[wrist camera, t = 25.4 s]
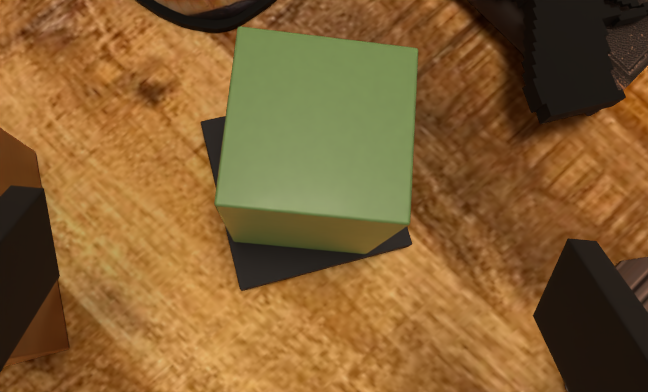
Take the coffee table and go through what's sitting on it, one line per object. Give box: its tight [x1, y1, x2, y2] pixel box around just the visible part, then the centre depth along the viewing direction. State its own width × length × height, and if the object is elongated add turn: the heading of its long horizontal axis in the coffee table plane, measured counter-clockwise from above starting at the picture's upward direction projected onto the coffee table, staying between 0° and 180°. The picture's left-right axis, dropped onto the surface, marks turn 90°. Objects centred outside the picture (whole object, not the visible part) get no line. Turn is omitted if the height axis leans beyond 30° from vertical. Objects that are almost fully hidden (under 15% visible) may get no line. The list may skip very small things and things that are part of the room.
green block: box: [214, 26, 418, 254], centre depth 21 cm, size 6×6×8 cm
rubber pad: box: [201, 116, 412, 291], centre depth 25 cm, size 8×8×1 cm
